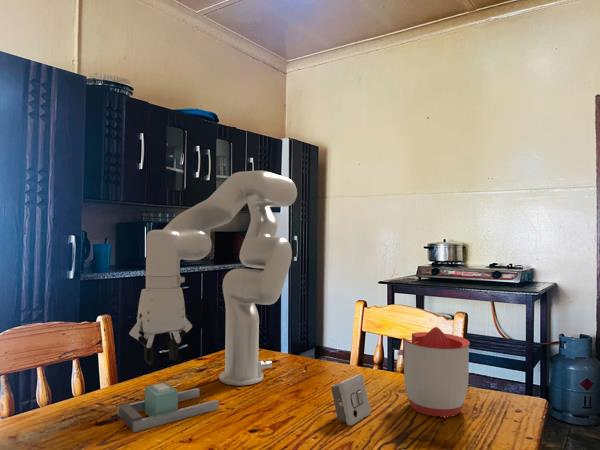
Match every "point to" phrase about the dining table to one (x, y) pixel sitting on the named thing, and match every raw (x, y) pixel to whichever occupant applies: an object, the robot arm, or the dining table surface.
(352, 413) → the electrical switch
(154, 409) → the block
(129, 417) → the rail channel
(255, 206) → the robot arm
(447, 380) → the citrus juicer
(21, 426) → the dining table surface
